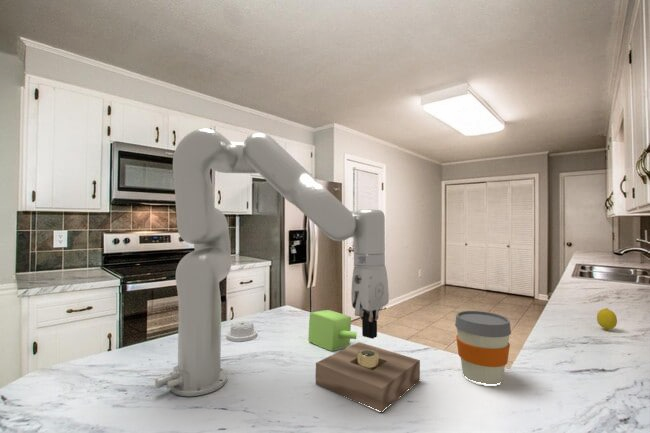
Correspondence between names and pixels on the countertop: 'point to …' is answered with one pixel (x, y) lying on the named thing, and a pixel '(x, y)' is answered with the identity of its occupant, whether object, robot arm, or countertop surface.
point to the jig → (368, 376)
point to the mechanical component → (242, 331)
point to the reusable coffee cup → (483, 345)
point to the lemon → (606, 319)
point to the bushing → (368, 359)
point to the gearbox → (330, 329)
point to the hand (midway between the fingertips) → (369, 336)
